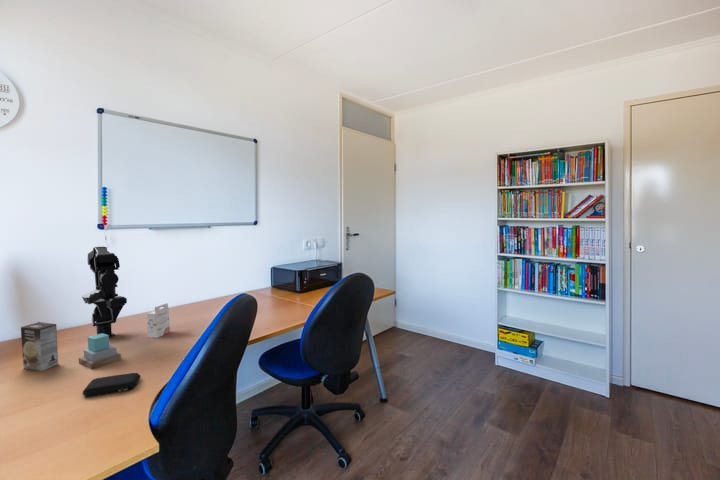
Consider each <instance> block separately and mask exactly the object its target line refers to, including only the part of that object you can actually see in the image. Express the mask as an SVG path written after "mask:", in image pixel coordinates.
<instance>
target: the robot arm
mask: <svg viewBox="0 0 720 480" xmlns="http://www.w3.org/2000/svg"><path fill="white" fill-rule="evenodd" d="M87 265H88V266H89V269H90V270H91V272H92V273H93V274H94V283H95V290H93V291H90V292H87V293H86V294H83V295H81V298H82V300H83V303H84V304H88V305H92V304H93V305H95V307H94V308H93V313H92V315H91V324H92V327H95V328H96V335H98V334H101V333H103V334H106V335H109V338H110V337H114V336H116V334H115V333H113V330H112V324H115V323H117V318H118V317H119V314H120V312H122V309H123V308H124V306H125V305H126V304H127V303H128V300H127V299H128V298H127V297H125V296H121V295H119V294H118V293H117V291H116V288H118V287H119V286H118V282H119V276H118V275H117V274H116V272H115V271H116V270H117V271H118V270H119V268H120V266H121V265H120V260H119V258H118V255H116V254H115V253H114V252H110V251H108V247H107V246H95V247H93V248H92V250H91V251H90V252H89V253H87Z"/></svg>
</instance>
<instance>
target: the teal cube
mask: <svg viewBox="0 0 720 480" xmlns="http://www.w3.org/2000/svg"><path fill="white" fill-rule="evenodd" d="M109 344H110V337H109V335H106V334H103V333H101V334H98V335H97V334H94V335H91V336H87V349H88V350H91V351H93V352H97V351H100V350H103V349H107V348H109Z"/></svg>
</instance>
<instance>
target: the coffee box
mask: <svg viewBox="0 0 720 480" xmlns="http://www.w3.org/2000/svg"><path fill="white" fill-rule="evenodd" d="M57 329H58V327H57V324H56V323H49V322H43V321H42V322H40V321H38V322H34V323H31V324H28V325H24V326H20V336H21V349H22V351H21V352H22V353H21V354H22V366H23V369H25V370H26V369H27V370H31V371H40V372H42V371H45V370H47V369H48V370H49V369H50V368H52V367H55V366H57V365H59V352H58V351H59V349H58V330H57Z"/></svg>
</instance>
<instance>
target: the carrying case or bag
mask: <svg viewBox="0 0 720 480" xmlns="http://www.w3.org/2000/svg"><path fill="white" fill-rule="evenodd" d="M141 376H142V375H141V374H139V373H138V372H129V373H123V374H116V375H110V376H109V375H108V376H103V377H96V378H93V379H92V380H91V381H90V382H89V383H88V384H87V386H86V387H85V388H84V390H82V395H83V396H85V397H86V398H87V397H88V398H90V397H98V396H102V395H110V394H116V393H123V392H127V391H131V390H134V389H135V387H136V386H137V385H138V383H139V381H140V379H141Z"/></svg>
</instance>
